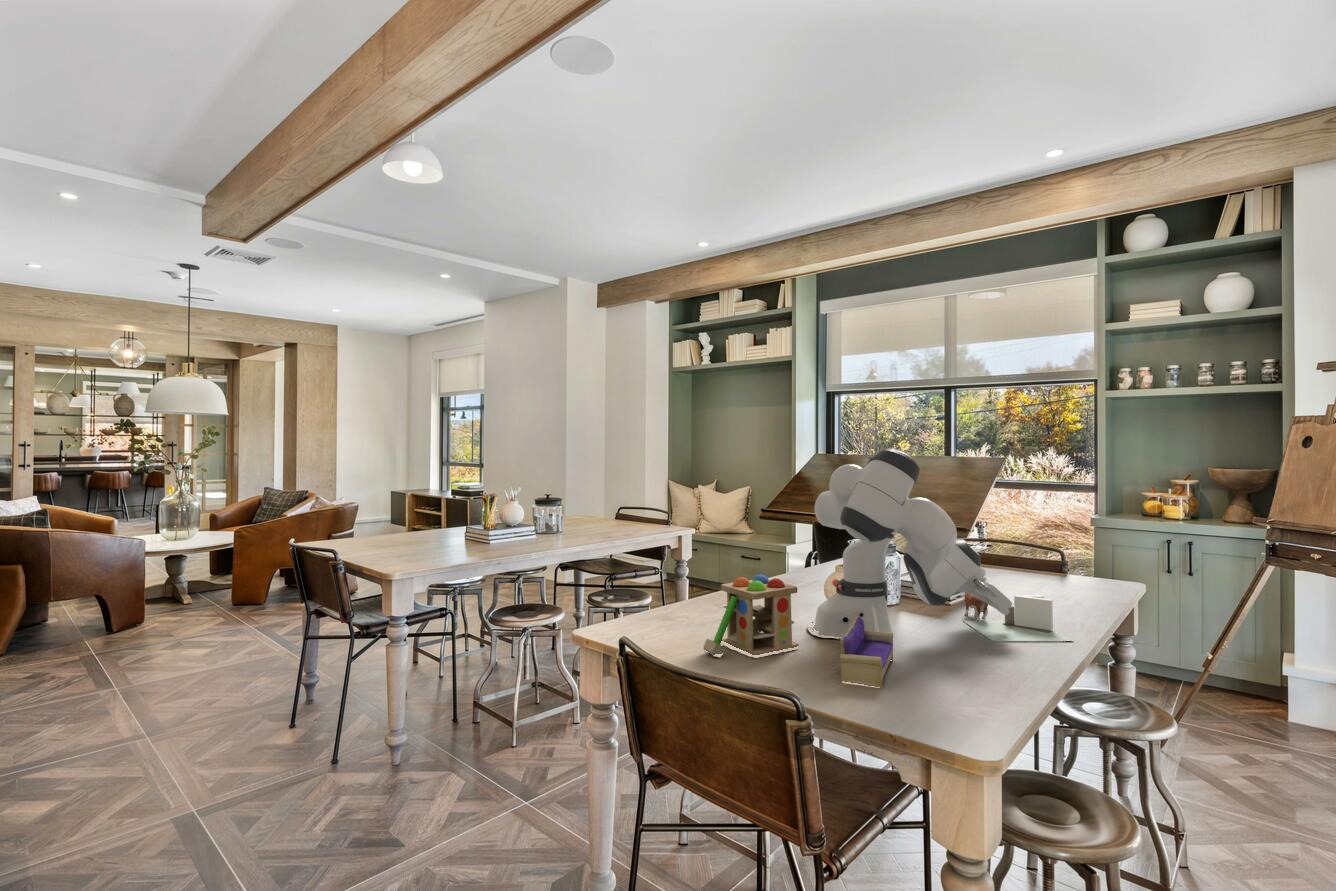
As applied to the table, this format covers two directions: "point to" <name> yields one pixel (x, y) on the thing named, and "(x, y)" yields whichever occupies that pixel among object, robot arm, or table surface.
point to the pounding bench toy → (768, 619)
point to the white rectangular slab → (1033, 612)
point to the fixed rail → (1010, 616)
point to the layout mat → (1015, 632)
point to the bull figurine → (976, 606)
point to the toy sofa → (865, 654)
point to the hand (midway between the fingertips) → (1005, 612)
